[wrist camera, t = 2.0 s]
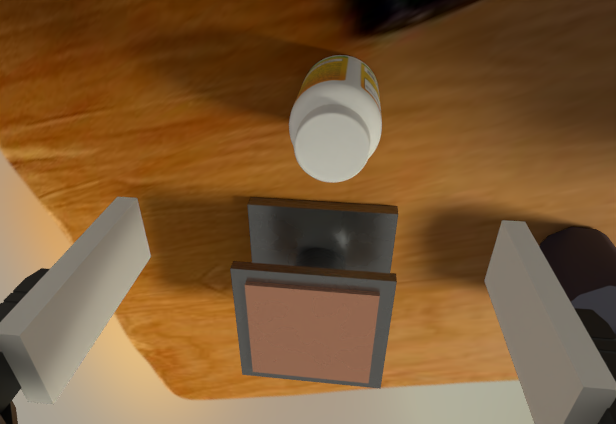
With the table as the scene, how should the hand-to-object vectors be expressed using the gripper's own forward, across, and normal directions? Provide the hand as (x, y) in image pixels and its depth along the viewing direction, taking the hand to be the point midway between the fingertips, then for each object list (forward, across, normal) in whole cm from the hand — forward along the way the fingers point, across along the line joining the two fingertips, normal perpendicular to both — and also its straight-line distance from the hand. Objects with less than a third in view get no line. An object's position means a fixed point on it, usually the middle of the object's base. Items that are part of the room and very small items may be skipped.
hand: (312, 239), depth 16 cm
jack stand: (+18, -1, -15) cm, 23 cm away
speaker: (+18, +19, -13) cm, 29 cm away
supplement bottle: (+18, 0, 0) cm, 18 cm away
